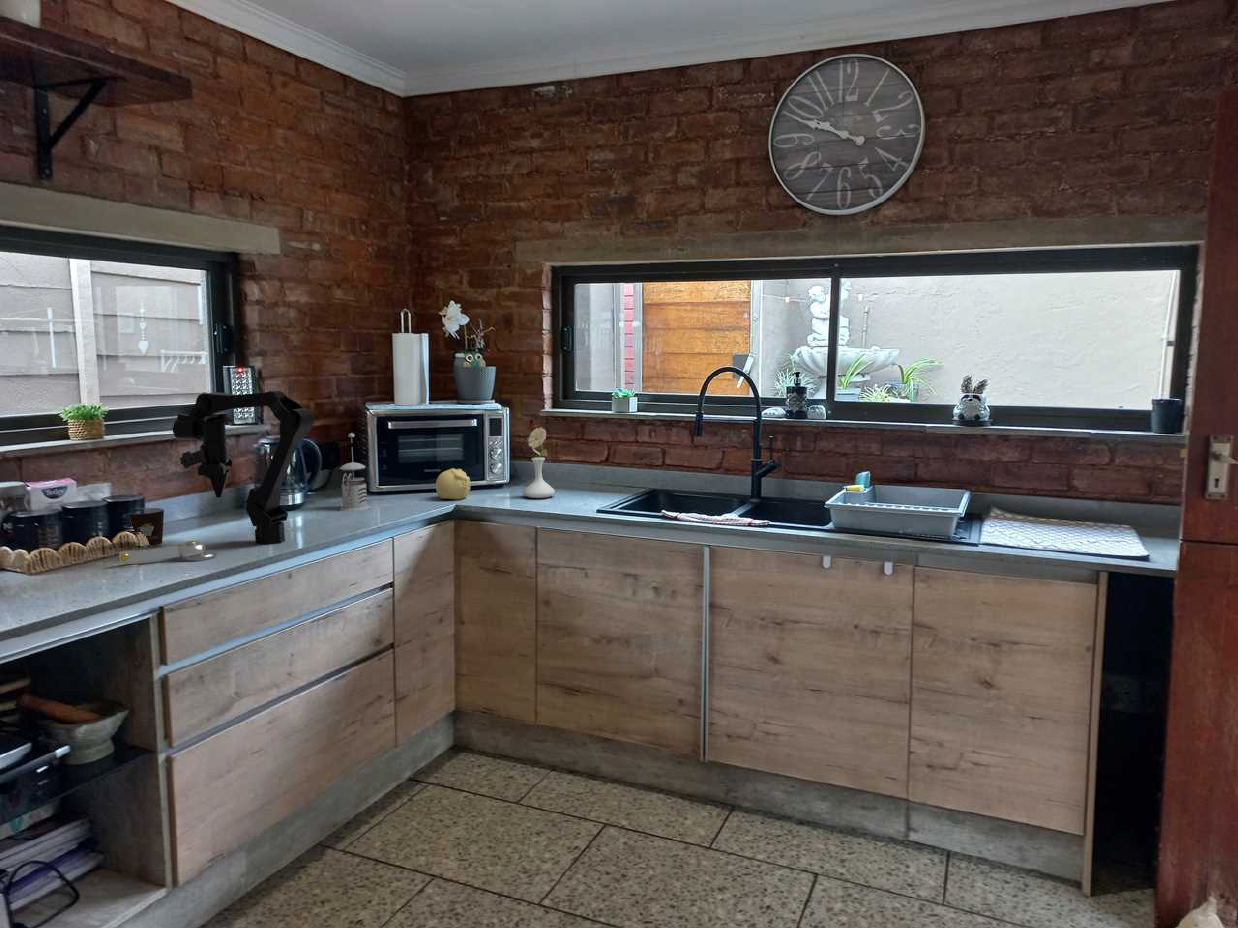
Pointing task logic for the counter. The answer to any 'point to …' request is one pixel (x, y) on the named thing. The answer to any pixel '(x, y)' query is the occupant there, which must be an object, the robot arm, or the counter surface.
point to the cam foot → (170, 553)
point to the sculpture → (453, 484)
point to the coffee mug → (150, 524)
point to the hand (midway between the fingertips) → (218, 497)
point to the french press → (353, 488)
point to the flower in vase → (538, 468)
